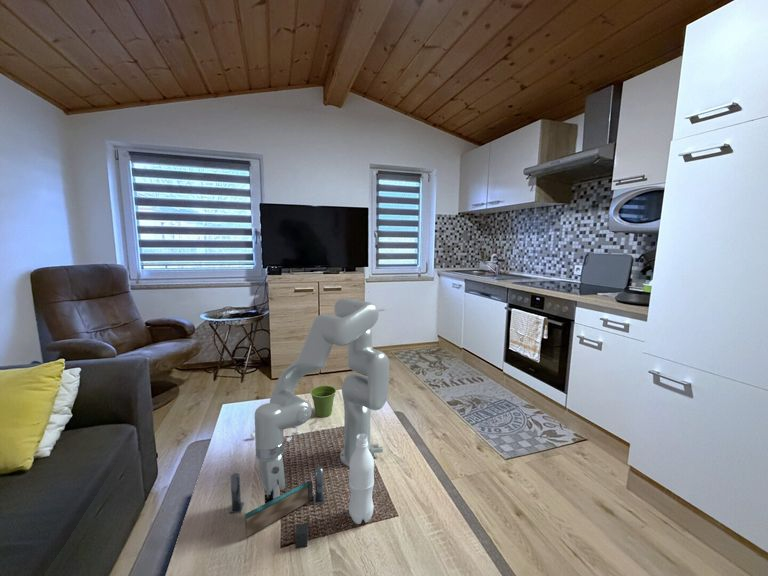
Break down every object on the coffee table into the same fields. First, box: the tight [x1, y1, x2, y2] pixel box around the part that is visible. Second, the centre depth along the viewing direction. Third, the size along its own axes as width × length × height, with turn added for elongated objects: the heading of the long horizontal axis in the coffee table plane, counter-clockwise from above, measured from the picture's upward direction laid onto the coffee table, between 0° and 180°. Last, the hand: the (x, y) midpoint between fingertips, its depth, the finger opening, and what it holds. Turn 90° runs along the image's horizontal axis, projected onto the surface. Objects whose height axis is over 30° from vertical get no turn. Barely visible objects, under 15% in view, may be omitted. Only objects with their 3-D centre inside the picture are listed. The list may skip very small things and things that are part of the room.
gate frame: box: [228, 465, 326, 549], centre depth 91 cm, size 27×17×11 cm, turn 99°
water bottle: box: [348, 434, 375, 525], centre depth 92 cm, size 7×7×25 cm
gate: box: [244, 479, 314, 537], centre depth 93 cm, size 20×2×6 cm, turn 132°
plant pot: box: [309, 384, 337, 418], centre depth 150 cm, size 12×12×11 cm
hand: (271, 506), depth 94 cm, fingers closed
